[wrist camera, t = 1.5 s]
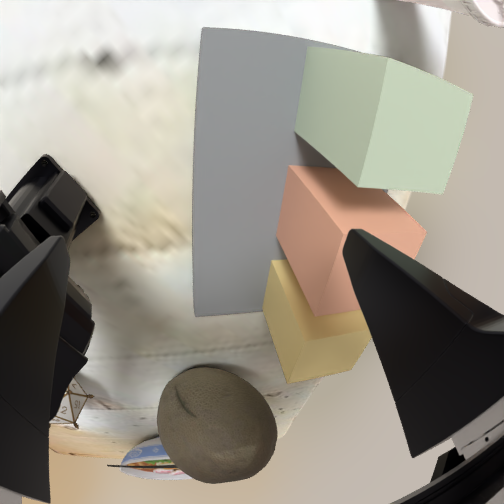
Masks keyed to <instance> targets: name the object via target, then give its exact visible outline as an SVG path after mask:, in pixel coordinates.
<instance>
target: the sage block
mask: <svg viewBox="0 0 504 504" xmlns="http://www.w3.org/2000/svg"><path fill="white" fill-rule="evenodd" d="M472 99H473V94H471V93H470V92H468V91H466V90H464V89H462V88H460V87H458V86H456V85H454V84H451V83H449V82H447V81H445V80H443V79H441V78H439V77H437V76H434V75H432V74H430V73H427V72H425V71H423V70H420V69H418V68H415V67H413V66H410V65H408V64H405V63H402V62H400V61H397V60H394V59H391V58H389V57H384V56H379V55H373V54H367V53H361V52H354V51H347V50H339V49H330V48H320V47H307V53H306V60H305V66H304V73H303V79H302V86H301V92H300V98H299V105H298V111H297V117H296V123H295V129H294V131H295V132H296V133H297V134H298V135H299V136H301V137H302V138H303V139H304V140H305V141H307V142H308V143H309V144H310V145H311V146H313V147H314V148H315V149H316V150H317V151H318V152H319V153H321V154H322V155H323V156H324V157H325V158H326V159H327V160H329V161H330V162H331V163H332V164H333V165H334V166H335V167H336V168H338V169H339V170H340V171H341V172H342V173H343V174H344V175H345V176H346V177H347V178H348V179H349V180H351V181H352V182H353V183H354V184H355V185H356V186H357V187H363V188H378V189H391V190H403V191H414V192H425V193H435V194H443V192H444V189H445V187H446V184H447V181H448V179H449V176H450V173H451V170H452V167H453V164H454V161H455V158H456V155H457V152H458V149H459V146H460V142H461V139H462V136H463V133H464V129H465V126H466V122H467V118H468V114H469V111H470V107H471V103H472Z"/></svg>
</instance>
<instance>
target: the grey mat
mask: <svg viewBox="0 0 504 504" xmlns="http://www.w3.org/2000/svg"><path fill="white" fill-rule="evenodd" d="M307 47H320V48H330V49H339V50H347V51H354V52H358V51H355V50H351V49H347V48H344V47H340V46H336V45H332V44H327V43H323V42H318V41H314V40H309V39H304V38H298V37H293V36H287V35H281V34H274V33H267V32H259V31H250V30H240V29H227V28H209V27H203V28H202V32H201V42H200V53H199V65H198V78H197V93H196V109H195V128H194V153H193V195H192V256H193V298H194V313H195V317H200V316H213V315H225V314H236V313H247V312H257V311H263V309H262V307H263V302H264V296H265V291H266V286H267V281H268V276H269V270H270V265H271V260H286V259H287V257H286V255H285V253H284V251H283V249H282V247H281V245H280V243H279V241H278V239H277V237H276V233H277V227H278V222H279V216H280V211H281V205H282V199H283V194H284V188H285V182H286V177H287V171H288V165H293V166H312V167H328V168H336V167H335V166H334V165H333V164H332V163H331V162H330V161H329V160H327V159H326V158H325V157H324V156H323V155H322V154H321V153H319V152H318V151H317V150H316V149H315V148H314V147H313V146H311V145H310V144H309V143H308V142H307V141H305V140H304V139H303V138H302V137H301V136H299V135H298V134H297V133H296V132H295V131H294V129H295V123H296V117H297V111H298V105H299V98H300V92H301V86H302V79H303V73H304V66H305V60H306V53H307ZM361 53H362V52H361ZM382 190H383V191H384V192H386V193H387V191H388V189H382Z"/></svg>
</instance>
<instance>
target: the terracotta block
mask: <svg viewBox="0 0 504 504" xmlns="http://www.w3.org/2000/svg"><path fill="white" fill-rule="evenodd" d="M351 229H363V230H365V231H367V232H368V233H370V234H372V235H374V236H375V237H377V238H379V239H380V240H382V241H384V242H386V243H387V244H389V245H391V246H392V247H394V248H396V249H397V250H399V251H401V252H402V253H404V254H406V255H407V256H409V257H411V258H412V259H415V257H416V255H417V253H418V251H419V249H420V246H421V244H422V242H423V240H424V238H425V236H426V233H427V232H426V231H425V230H424V229H423V228H422V227H421V226H420V225H419V224H418V223H417V222H416V221H415V220H414V219H413V218H412V217H411V216H410V215H409V214H408V213H407V212H406V211H405V210H404V209H403V208H402V207H401V206H400V205H399V204H398V203H396V202H395V201H394V200H393V199H392V198H391V197H390V196H389V195H388V194H387V193H386V192H384V191H383V190H382V189H378V188H363V187H357V186H356V185H355V184H354V183H353V182H352V181H351V180H349V179H348V178H347V177H346V176H345V175H344V174H343V173H342V172H341V171H340V170H339V169H338V168H328V167H312V166H293V165H288V171H287V177H286V182H285V188H284V194H283V199H282V205H281V211H280V216H279V222H278V227H277V233H276V237H277V239H278V241H279V243H280V245H281V247H282V249H283V251H284V253H285V255H286V257H287V259H288V261H289V263H290V266H291V268H292V270H293V272H294V274H295V276H296V278H297V280H298V282H299V284H300V286H301V289H302V291H303V293H304V295H305V297H306V299H307V301H308V303H309V306H310V308H311V310H312V312H313V314H314V316H315V317H316V316H323V315H329V314H336V313H342V312H349V311H355V310H361V308H360V306H359V303H358V301H357V298H356V296H355V293H354V290H353V287H352V284H351V281H350V277H349V274H348V271H347V267H346V264H345V261H344V258H343V254H342V250H343V246H344V243H345V240H346V238H347V235H348V232H349V230H351Z"/></svg>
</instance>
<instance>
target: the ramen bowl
mask: <svg viewBox="0 0 504 504" xmlns="http://www.w3.org/2000/svg"><path fill="white" fill-rule="evenodd" d="M107 466H111V467H120V471H121V472H123V473H125V474H127V475H131V476H135V477H139V478H147V479H157V480H182V479H192V477H190V476H188V475H187V474H185V473H184V472H182V471H181V470H180V469H179V468H178V467H177V466H176V465H175V464H174V463H173V462H172V461H171V459H170V458H169V456H168V455H167V453H166V451H165V450H164V448H163V445H162V443H161V440H160V437H159V436H158V437H156V438H154V439H150V440H147V441H144V442H142V443H140V444H138V445H137V446H135V447H133V448H132V449H131V450H130V451H129V452H128V453H127V455H126V456H125V458H124V459H123V461H122V463H121V465H107Z"/></svg>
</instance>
